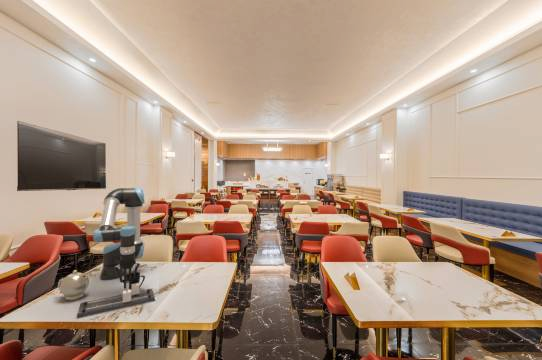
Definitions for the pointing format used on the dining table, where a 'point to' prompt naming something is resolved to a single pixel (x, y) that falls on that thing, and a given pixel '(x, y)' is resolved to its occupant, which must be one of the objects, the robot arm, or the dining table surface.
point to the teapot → (73, 285)
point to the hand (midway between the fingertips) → (127, 293)
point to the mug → (135, 279)
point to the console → (114, 303)
